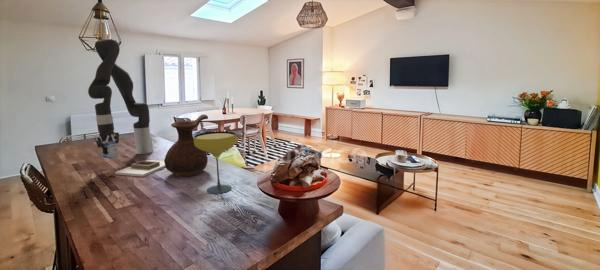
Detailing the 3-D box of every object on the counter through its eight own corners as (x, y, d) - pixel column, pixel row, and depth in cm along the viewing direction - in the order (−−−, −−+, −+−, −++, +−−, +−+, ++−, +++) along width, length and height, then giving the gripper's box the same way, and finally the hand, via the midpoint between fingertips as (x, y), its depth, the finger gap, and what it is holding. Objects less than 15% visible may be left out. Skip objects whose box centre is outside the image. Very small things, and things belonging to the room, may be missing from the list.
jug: (196, 180, 158) (191, 120, 152) (157, 178, 162) (150, 119, 156) (216, 167, 179) (212, 113, 173) (181, 166, 183) (176, 113, 177)
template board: (148, 161, 193) (147, 156, 192) (173, 163, 188) (173, 158, 187) (115, 174, 170) (114, 168, 170) (143, 176, 165) (142, 170, 165)
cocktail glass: (222, 180, 158) (219, 129, 153) (247, 187, 146) (244, 133, 141) (190, 191, 144) (184, 136, 139) (214, 200, 133) (210, 141, 128)
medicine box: (102, 157, 177) (99, 142, 176) (110, 155, 181) (107, 140, 179) (111, 159, 174) (108, 143, 172) (119, 157, 178) (116, 141, 176)
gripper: (110, 120, 181) (115, 149, 185) (87, 124, 168) (93, 156, 171) (121, 120, 179) (125, 150, 183) (99, 125, 166) (104, 157, 169)
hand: (109, 152), depth 177 cm, fingers closed on medicine box, 5 cm apart
